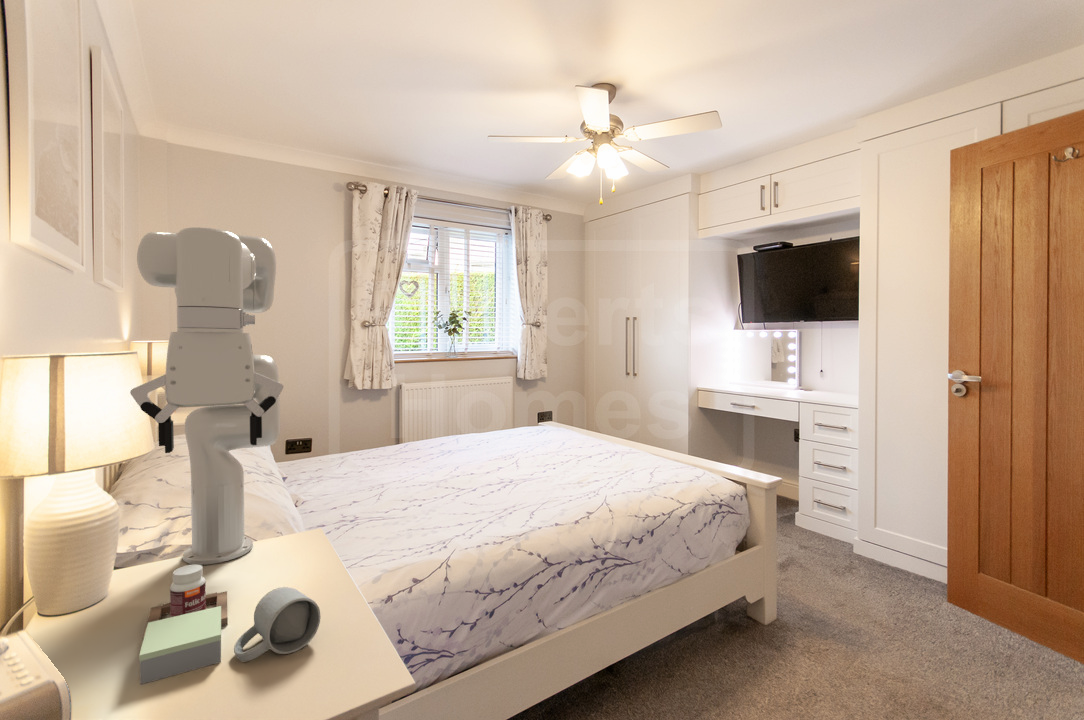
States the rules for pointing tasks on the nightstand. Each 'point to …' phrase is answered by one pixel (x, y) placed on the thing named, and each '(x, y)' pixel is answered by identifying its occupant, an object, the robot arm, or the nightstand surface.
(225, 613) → the base
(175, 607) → the pill bottle
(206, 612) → the green square block
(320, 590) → the nightstand surface
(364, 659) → the nightstand surface
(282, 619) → the ceramic mug
